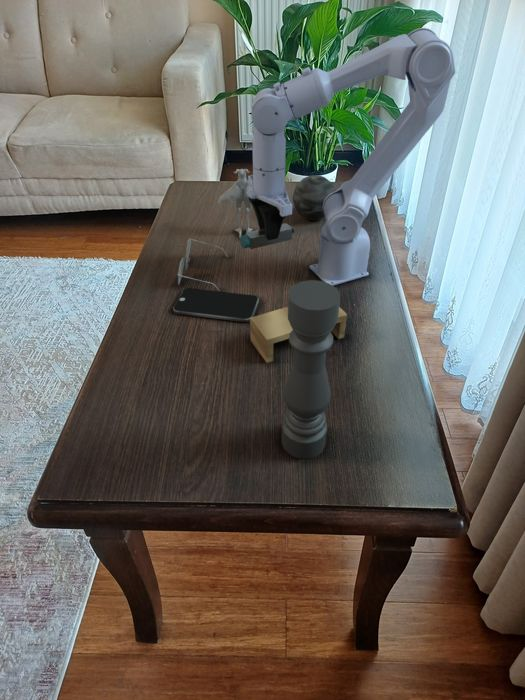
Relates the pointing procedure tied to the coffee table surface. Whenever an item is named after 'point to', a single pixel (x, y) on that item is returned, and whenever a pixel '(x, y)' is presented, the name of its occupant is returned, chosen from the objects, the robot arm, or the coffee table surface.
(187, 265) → the sunglasses
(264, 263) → the coffee table surface
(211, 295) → the smartphone
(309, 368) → the candle holder
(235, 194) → the figurine
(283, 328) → the shelf
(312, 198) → the decorative stone
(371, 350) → the coffee table surface
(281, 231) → the grey and teal bar
